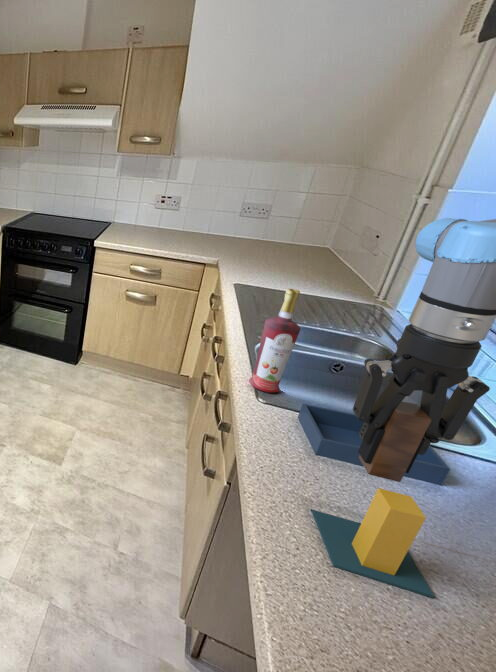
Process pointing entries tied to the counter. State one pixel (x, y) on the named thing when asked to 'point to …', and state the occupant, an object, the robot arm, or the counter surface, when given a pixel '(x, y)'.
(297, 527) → the counter surface
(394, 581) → the mat
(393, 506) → the mustard piece
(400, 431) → the walnut piece
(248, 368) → the counter surface
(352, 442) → the bin
